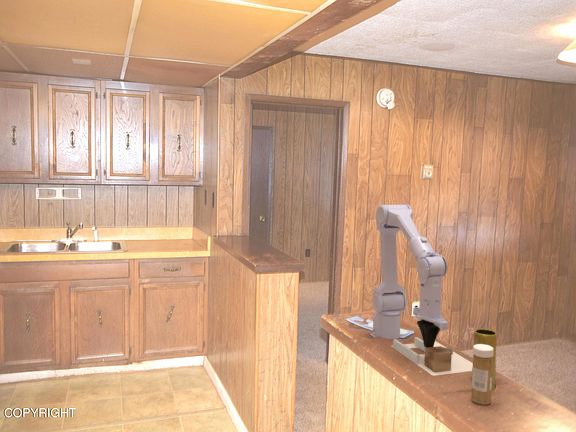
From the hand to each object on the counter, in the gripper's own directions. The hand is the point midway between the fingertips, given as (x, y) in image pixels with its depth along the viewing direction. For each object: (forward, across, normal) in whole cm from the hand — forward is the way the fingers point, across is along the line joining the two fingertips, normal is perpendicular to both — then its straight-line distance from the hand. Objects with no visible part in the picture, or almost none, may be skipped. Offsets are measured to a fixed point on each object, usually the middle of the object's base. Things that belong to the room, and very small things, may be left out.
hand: (428, 347), depth 141 cm
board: (+6, -3, +4) cm, 8 cm away
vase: (+6, +15, +7) cm, 17 cm away
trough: (+4, -6, 0) cm, 8 cm away
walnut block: (+4, +4, 0) cm, 6 cm away
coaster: (+4, -5, +8) cm, 11 cm away
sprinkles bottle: (+6, +22, +1) cm, 22 cm away
